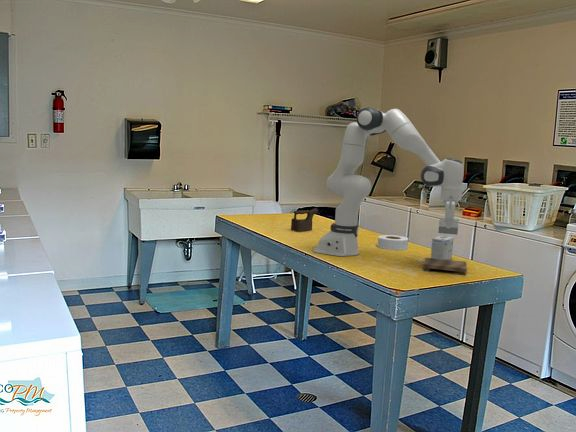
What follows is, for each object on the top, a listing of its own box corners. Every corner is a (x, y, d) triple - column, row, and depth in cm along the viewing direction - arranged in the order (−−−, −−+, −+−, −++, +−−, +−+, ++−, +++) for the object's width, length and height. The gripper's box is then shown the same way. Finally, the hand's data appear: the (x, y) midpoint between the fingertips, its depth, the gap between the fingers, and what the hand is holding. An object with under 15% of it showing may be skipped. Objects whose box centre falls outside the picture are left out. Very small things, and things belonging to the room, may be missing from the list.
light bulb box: (439, 256, 265) (441, 235, 263) (452, 259, 261) (454, 237, 259) (429, 259, 257) (431, 237, 255) (443, 262, 252) (445, 239, 251)
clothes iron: (319, 230, 324) (320, 209, 322) (296, 232, 316) (298, 209, 314) (312, 228, 331) (313, 207, 329) (290, 230, 322) (291, 208, 320)
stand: (423, 270, 234) (423, 264, 234) (424, 263, 247) (425, 257, 247) (466, 275, 229) (466, 268, 228) (465, 268, 242) (466, 261, 242)
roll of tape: (371, 245, 287) (372, 235, 287) (397, 244, 293) (397, 234, 292) (387, 251, 273) (387, 240, 272) (413, 250, 278) (414, 239, 278)
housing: (457, 234, 232) (458, 221, 231) (438, 232, 235) (439, 219, 234) (457, 232, 237) (458, 219, 236) (438, 231, 239) (439, 217, 238)
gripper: (458, 198, 223) (456, 231, 225) (458, 194, 242) (455, 224, 244) (443, 197, 224) (440, 230, 227) (444, 193, 244) (441, 223, 246)
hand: (448, 227), depth 235 cm, fingers closed on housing, 5 cm apart
